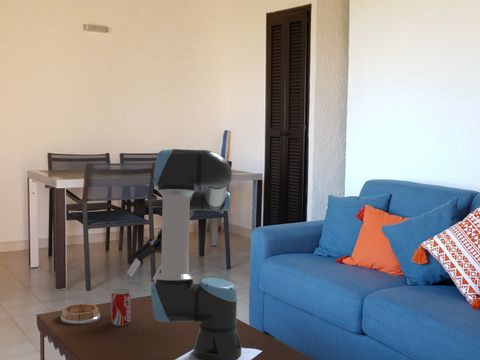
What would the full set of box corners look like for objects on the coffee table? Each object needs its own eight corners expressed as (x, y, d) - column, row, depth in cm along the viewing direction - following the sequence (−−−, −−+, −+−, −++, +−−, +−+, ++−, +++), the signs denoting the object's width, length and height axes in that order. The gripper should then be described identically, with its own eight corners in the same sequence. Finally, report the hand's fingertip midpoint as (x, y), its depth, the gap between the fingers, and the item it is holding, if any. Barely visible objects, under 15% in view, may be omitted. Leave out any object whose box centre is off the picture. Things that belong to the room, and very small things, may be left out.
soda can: (121, 328, 211) (121, 295, 210) (106, 324, 214) (106, 291, 213) (134, 322, 217) (135, 290, 216) (120, 319, 221) (120, 287, 219)
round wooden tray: (105, 320, 219) (105, 311, 218) (67, 326, 211) (67, 317, 211) (92, 309, 231) (92, 300, 230) (56, 315, 223) (55, 306, 223)
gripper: (199, 242, 228) (171, 289, 217) (152, 233, 243) (124, 277, 232) (189, 230, 223) (161, 278, 213) (143, 222, 238) (113, 266, 228)
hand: (141, 277), depth 222 cm, fingers open, 13 cm apart
